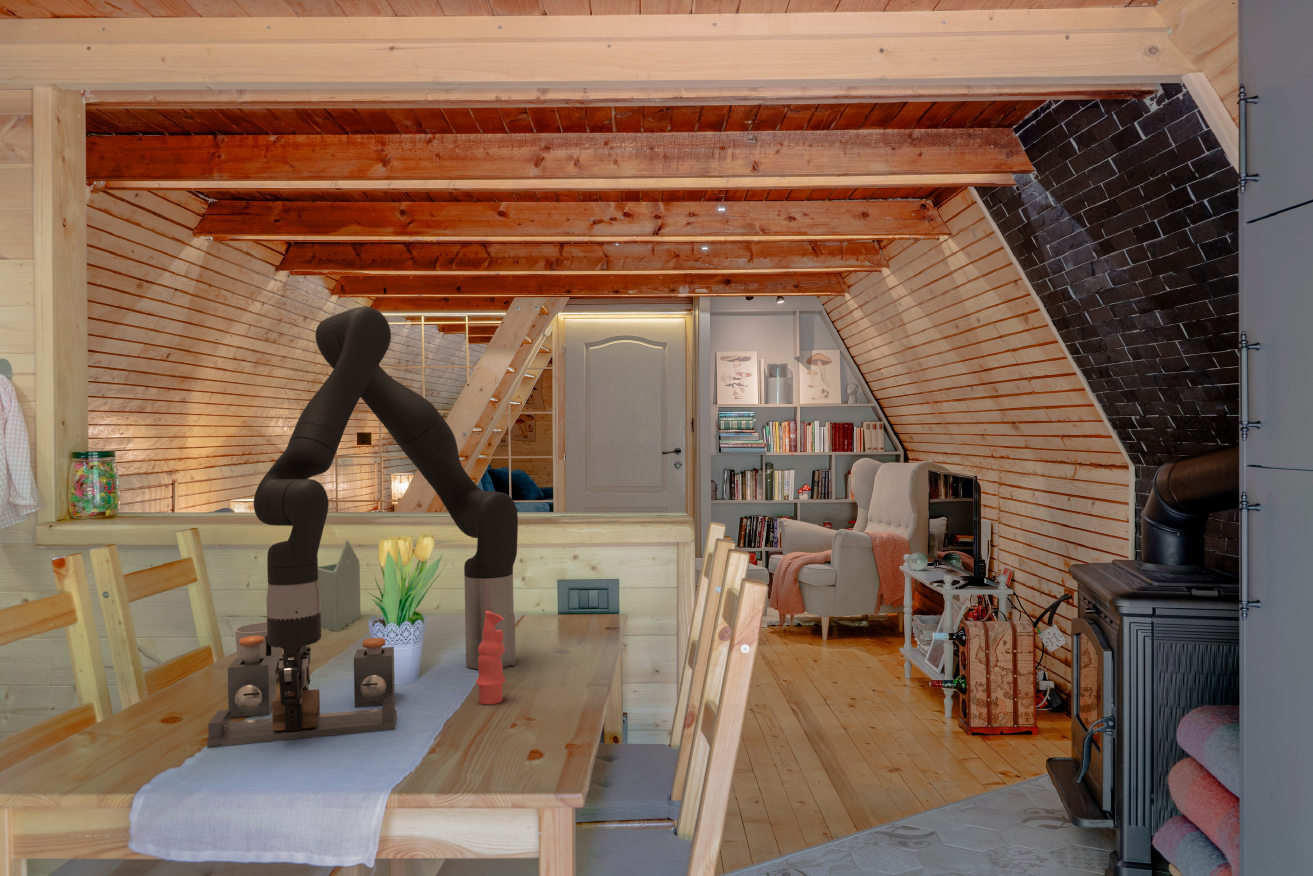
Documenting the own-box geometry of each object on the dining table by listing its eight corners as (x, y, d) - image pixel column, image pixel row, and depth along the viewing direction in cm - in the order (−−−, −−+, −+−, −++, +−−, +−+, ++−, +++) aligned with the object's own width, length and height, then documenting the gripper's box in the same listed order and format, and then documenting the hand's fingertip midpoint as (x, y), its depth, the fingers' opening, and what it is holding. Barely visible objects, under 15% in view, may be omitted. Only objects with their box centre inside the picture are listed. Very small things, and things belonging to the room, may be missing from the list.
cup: (266, 689, 153) (265, 633, 153) (225, 687, 155) (224, 631, 154) (294, 676, 161) (293, 622, 161) (255, 674, 163) (254, 621, 162)
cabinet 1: (276, 703, 145) (275, 655, 145) (268, 715, 139) (267, 665, 139) (237, 706, 144) (236, 658, 144) (228, 718, 138) (226, 668, 138)
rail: (396, 716, 138) (396, 695, 137) (394, 729, 132) (394, 707, 132) (217, 733, 131) (217, 710, 131) (207, 747, 125) (206, 723, 125)
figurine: (512, 697, 147) (511, 608, 146) (497, 706, 142) (496, 615, 142) (486, 694, 148) (484, 607, 148) (470, 703, 143) (468, 613, 143)
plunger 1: (266, 660, 144) (265, 635, 144) (261, 666, 140) (261, 640, 140) (242, 662, 143) (241, 636, 143) (237, 667, 139) (237, 641, 139)
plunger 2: (386, 661, 148) (385, 637, 148) (385, 667, 145) (384, 642, 145) (364, 663, 148) (363, 638, 147) (362, 669, 144) (361, 643, 144)
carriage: (319, 717, 134) (319, 689, 134) (315, 727, 130) (315, 697, 130) (278, 721, 133) (277, 692, 133) (272, 731, 128) (272, 701, 128)
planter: (328, 616, 212) (326, 536, 212) (361, 616, 212) (359, 535, 212) (302, 632, 196) (300, 545, 196) (337, 632, 196) (335, 544, 196)
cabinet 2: (394, 693, 150) (393, 646, 150) (392, 704, 144) (391, 656, 144) (358, 696, 148) (357, 649, 148) (354, 707, 142) (353, 659, 142)
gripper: (313, 619, 125) (316, 738, 125) (326, 600, 139) (329, 706, 139) (257, 623, 123) (260, 743, 123) (275, 603, 137) (278, 711, 137)
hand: (296, 723), depth 131 cm, fingers closed on carriage, 4 cm apart
